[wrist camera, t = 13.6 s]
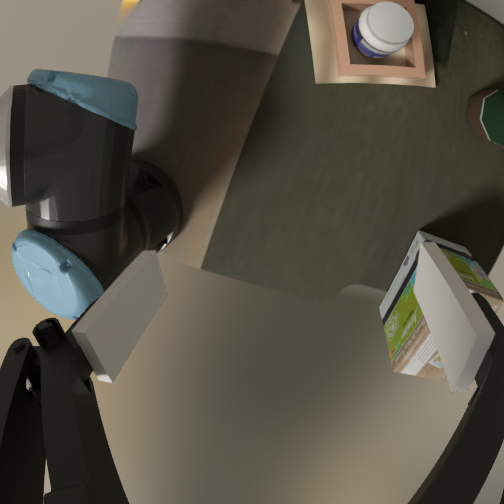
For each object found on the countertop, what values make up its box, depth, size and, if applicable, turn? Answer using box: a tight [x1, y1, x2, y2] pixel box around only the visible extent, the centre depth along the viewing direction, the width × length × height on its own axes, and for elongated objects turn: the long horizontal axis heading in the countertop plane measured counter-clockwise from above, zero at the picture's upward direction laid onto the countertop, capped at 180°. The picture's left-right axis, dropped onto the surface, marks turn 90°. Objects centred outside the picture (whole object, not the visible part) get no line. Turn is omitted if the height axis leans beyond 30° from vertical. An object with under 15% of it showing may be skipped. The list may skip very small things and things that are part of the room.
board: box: [304, 0, 435, 88], centre depth 30 cm, size 16×12×1 cm
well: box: [328, 0, 426, 80], centre depth 28 cm, size 10×10×4 cm
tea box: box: [380, 230, 504, 380], centre depth 38 cm, size 15×10×15 cm
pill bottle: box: [351, 1, 414, 59], centre depth 25 cm, size 6×6×10 cm
